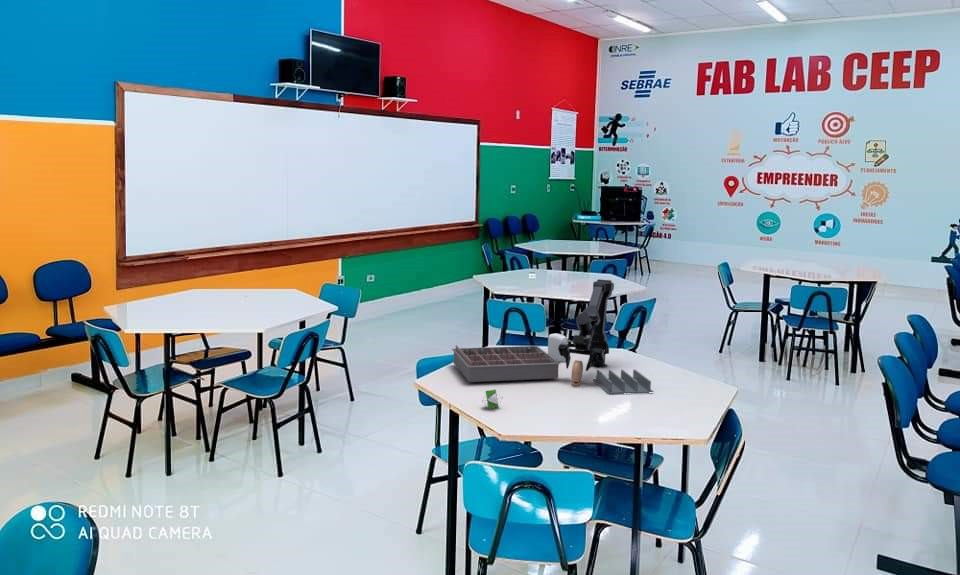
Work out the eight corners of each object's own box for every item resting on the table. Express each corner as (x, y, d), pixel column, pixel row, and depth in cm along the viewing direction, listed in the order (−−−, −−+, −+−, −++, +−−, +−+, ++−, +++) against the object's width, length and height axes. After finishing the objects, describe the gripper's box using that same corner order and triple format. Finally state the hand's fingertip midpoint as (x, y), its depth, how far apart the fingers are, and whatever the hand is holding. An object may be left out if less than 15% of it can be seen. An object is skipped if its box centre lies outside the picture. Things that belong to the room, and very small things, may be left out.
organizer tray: (560, 381, 318) (561, 358, 316) (467, 386, 308) (467, 362, 307) (536, 362, 349) (537, 341, 347) (451, 366, 339) (451, 344, 337)
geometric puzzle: (476, 399, 283) (483, 386, 278) (492, 396, 286) (499, 383, 281) (484, 414, 279) (491, 401, 274) (500, 412, 282) (507, 399, 277)
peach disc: (576, 381, 319) (577, 358, 317) (583, 382, 317) (584, 358, 316) (569, 386, 310) (571, 362, 309) (577, 387, 309) (578, 363, 308)
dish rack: (593, 380, 320) (593, 369, 319) (636, 379, 323) (636, 368, 322) (607, 394, 300) (608, 382, 300) (653, 393, 303) (654, 381, 303)
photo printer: (546, 358, 356) (547, 332, 354) (552, 357, 359) (553, 331, 357) (561, 362, 348) (562, 336, 347) (568, 361, 351) (569, 335, 349)
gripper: (560, 325, 318) (551, 356, 309) (604, 329, 310) (595, 361, 302) (565, 339, 326) (556, 370, 318) (607, 344, 319) (599, 376, 310)
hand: (576, 369), depth 312 cm, fingers open, 8 cm apart
